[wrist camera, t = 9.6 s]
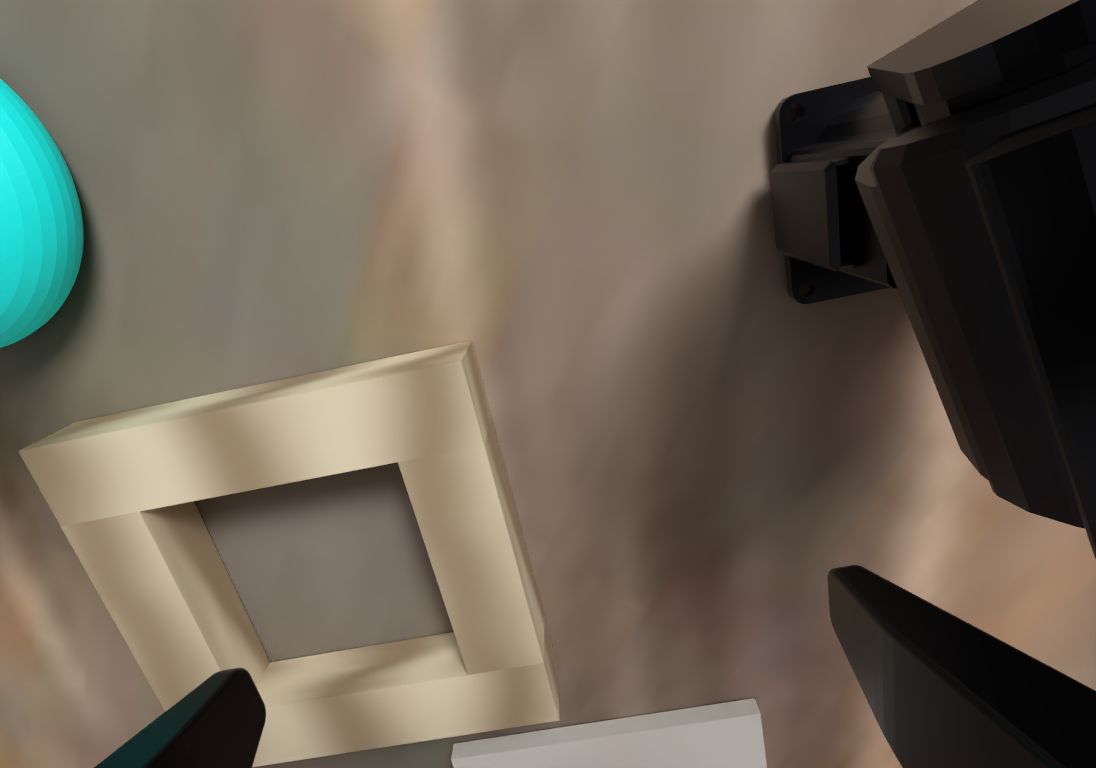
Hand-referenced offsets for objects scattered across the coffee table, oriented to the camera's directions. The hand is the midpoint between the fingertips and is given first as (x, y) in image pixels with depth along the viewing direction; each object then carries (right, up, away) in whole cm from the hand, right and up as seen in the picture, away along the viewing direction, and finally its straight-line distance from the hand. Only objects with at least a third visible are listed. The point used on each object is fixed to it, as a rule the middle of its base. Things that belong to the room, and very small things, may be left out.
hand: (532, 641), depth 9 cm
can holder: (-8, -3, +15) cm, 17 cm away
